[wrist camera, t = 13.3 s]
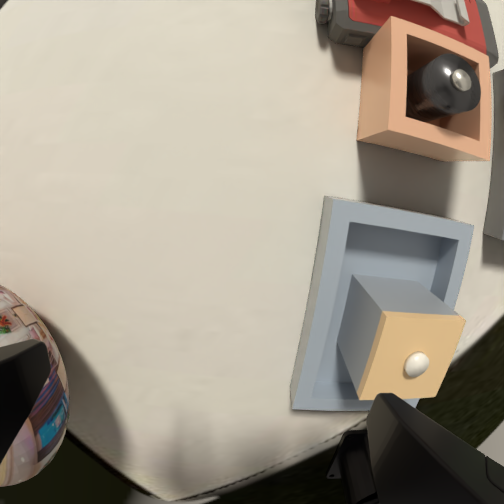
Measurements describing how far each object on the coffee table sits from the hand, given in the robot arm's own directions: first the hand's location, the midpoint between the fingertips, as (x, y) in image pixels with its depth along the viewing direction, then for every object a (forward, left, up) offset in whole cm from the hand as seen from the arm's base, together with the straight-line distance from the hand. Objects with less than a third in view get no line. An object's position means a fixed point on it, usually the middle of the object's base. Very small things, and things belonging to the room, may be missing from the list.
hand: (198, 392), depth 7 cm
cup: (+11, -9, -12) cm, 19 cm away
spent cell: (+11, -9, -11) cm, 18 cm away
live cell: (-2, -9, -11) cm, 15 cm away
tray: (-2, -9, -12) cm, 15 cm away
